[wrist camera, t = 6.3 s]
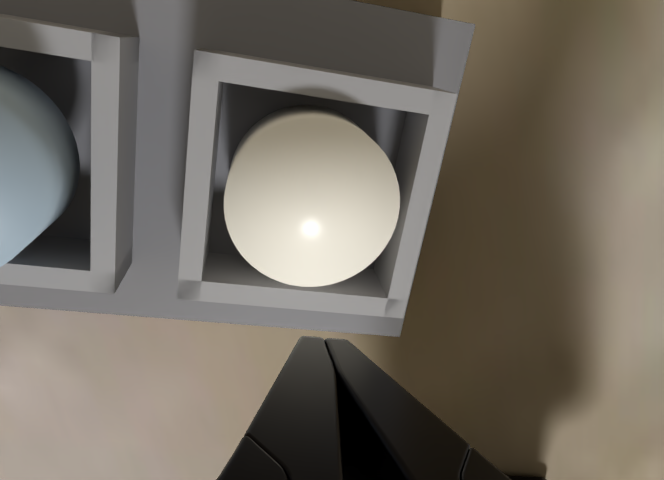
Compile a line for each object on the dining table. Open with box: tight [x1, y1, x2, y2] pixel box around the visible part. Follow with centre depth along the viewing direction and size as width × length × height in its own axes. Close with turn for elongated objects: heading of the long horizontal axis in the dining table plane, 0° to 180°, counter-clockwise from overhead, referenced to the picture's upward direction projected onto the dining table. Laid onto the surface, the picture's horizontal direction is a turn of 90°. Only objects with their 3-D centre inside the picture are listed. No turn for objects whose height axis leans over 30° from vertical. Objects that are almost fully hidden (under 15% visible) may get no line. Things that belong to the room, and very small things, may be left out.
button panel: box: [0, 0, 475, 337], centre depth 14 cm, size 24×10×5 cm, turn 80°
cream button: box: [224, 105, 400, 287], centre depth 14 cm, size 4×4×2 cm
